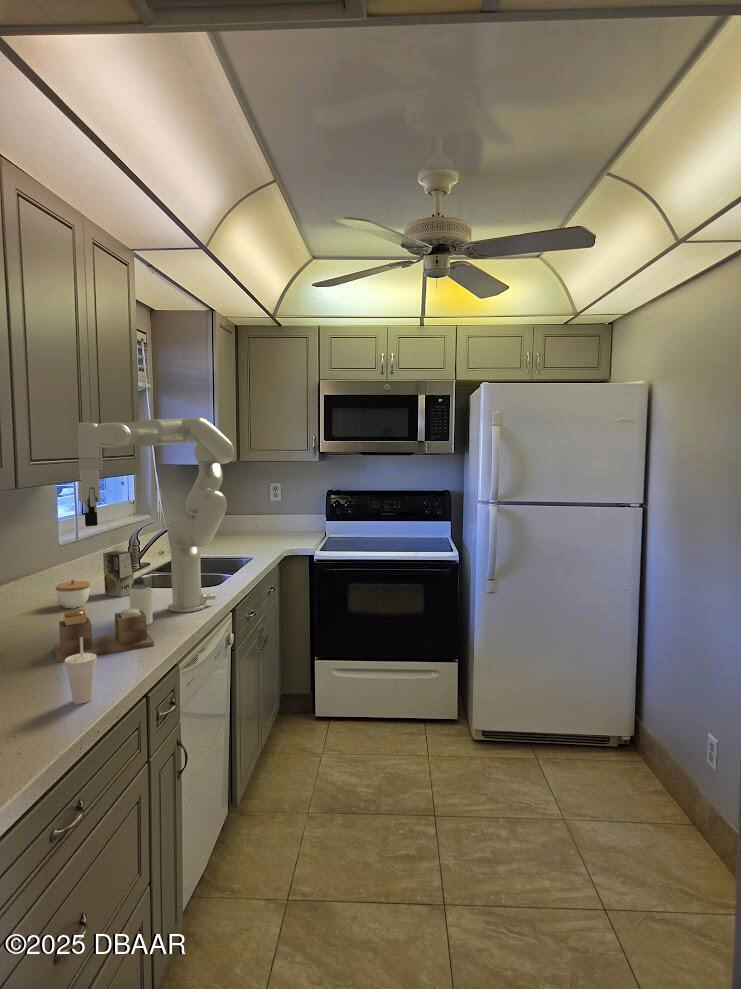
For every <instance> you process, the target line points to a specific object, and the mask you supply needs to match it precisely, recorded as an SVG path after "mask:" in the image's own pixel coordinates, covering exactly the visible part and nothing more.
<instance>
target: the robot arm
mask: <svg viewBox="0 0 741 989" xmlns="http://www.w3.org/2000/svg"><path fill="white" fill-rule="evenodd" d="M78 423H79V425H78V456H79V470H80V479H79V480H81V481H77V482H78V484H77V485H78V487H77V488H78V501H79V502H80V503H82V504H84V511H85V512H84V525H85V527H95V526H98V524H99V523H98V511H97V503H99V502H100V501H101V500H100V497H101V495H100V493H101V492H100V488H101V487H100V471H99V470H104V469H103V466H104V465H103V448H122V447H126V446H143V447H144V446H145V447H152V446H153V447H156V446H157V447H158V446H168V445H179V444H181V445H183V444H195V445H194V449H193V450H194V451H193V453H194V456H195V459H196V462H197V465H198V475H197V477H196V479H195V481H194V484H193V486H192V487H191V489H190V492H189V493H188V495H187V497H186V499H185V503H184V508H185V510H186V512H187V513H188V514H190V515H192V517H191V516H178V517H176V518H174V519H172V521H170V523H169V524H168V527H167V538H168V543H169V547H170V555H171V556H170V557H171V558H170V560H171V561H170V562H171V568H170V569H171V590H172V591H171V592H172V594H171V595H172V597H171V598H172V602H171V603H170V604H168V605H167V610H168V611H170V612H173V613H190V612H191V611H193V612H197V610H198V611H200V609H201V610H203V609H205V608H206V607H207V601H212V600H216V594H215V593H213V594H212V593H211V594H210V593H205V594H204V593H203V592H202V578H201V576H202V575H201V574H202V573H201V568H202V567H201V552H200V549H199V548H204V547H206V546H208V545H209V544H210V543H211V541H212V540H213V539H214V538H215V536H216V533H217V531H218V529H219V527H220V525H221V523H222V521H223V519H224V517H225V515H226V512H227V506H228V505H227V504H228V503H227V498H226V496H225V495H224V494H223V493H222V492H221V491H220V488H221V486H222V484H223V477H224V476H223V469H222V466H221V465H225V464H228V463H230V462H231V461H232V460H233V459H234V456H235V447H234V445H233V443H232V442H231V441H230V440H229V438H227V437H226V436H225V435H224V434H223V432H221V431H220V430H219V429H218V428H216V426H214V425H213V424H212V423H211V422H209V421H208V420H207V419H205V418H203V417H179V418H157V419H155V418H154V419H145V420H139V421H129V422H105V423H104V422H102V423H97V422H78ZM79 470H78V471H79ZM193 516H195V517H193ZM191 613H192V612H191Z"/></svg>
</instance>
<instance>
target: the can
mask: <svg viewBox="0 0 741 989" xmlns="http://www.w3.org/2000/svg"><path fill="white" fill-rule="evenodd" d="M152 596H153V594H152V589H151V586H150V584H134V586H132V587H131V590H130V595H129V609H139V610H142V611H143V612H144V614H145V615H146V627H148V626H150V625H152V623H153V621H154V620H153V598H152ZM147 625H148V626H147Z"/></svg>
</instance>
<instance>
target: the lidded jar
mask: <svg viewBox="0 0 741 989" xmlns="http://www.w3.org/2000/svg"><path fill="white" fill-rule="evenodd" d="M90 591H91V583H90V581H85V580H77V581H75V579H71V580H70V581H68V582H61V583H59V584H57V585H55V592H56V598H57V601H58V602H59V604H60V605H61V606H62V607H65V608H64V609H68V608H71V609H77V608H76V607H79V608H81V606H82V607H84V606H83V605H85V604H86V603H87V601H88V600H89V598H90V595H91V594H90V593H91V592H90Z"/></svg>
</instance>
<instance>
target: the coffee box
mask: <svg viewBox="0 0 741 989" xmlns="http://www.w3.org/2000/svg"><path fill="white" fill-rule="evenodd" d="M133 559H134V558H133V551H128V550H127V551H126V550H112V551H108V552H104V553H102V560H103V561H102V562H103V577H104V579H103V580H104V594H105V596H111V597H118V598H122V597H126V595H127V596H130V590H131V587H132V586H135V584H134V583H135V582H134V580H135V579H134V560H133Z"/></svg>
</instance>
